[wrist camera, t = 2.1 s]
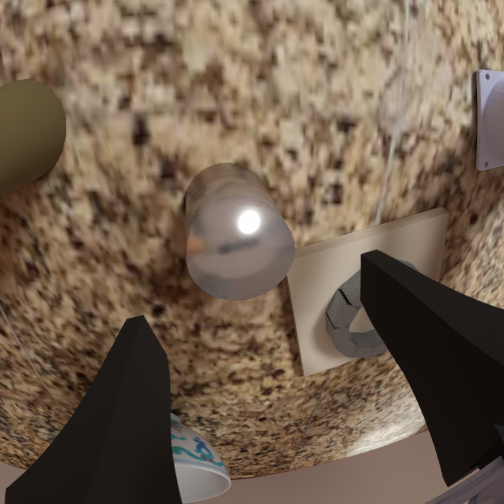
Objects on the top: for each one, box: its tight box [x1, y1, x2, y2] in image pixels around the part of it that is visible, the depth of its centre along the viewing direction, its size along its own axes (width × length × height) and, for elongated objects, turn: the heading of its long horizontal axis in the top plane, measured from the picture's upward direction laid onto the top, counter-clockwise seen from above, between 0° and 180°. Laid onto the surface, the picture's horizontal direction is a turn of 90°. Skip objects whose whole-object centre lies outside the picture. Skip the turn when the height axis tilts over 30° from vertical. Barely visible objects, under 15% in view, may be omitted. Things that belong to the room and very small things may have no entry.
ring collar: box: [325, 259, 419, 358], centre depth 23 cm, size 8×8×2 cm
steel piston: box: [186, 163, 295, 300], centre depth 16 cm, size 4×4×6 cm
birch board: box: [285, 207, 449, 377], centre depth 24 cm, size 13×13×1 cm
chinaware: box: [171, 413, 231, 503], centre depth 26 cm, size 15×15×8 cm
